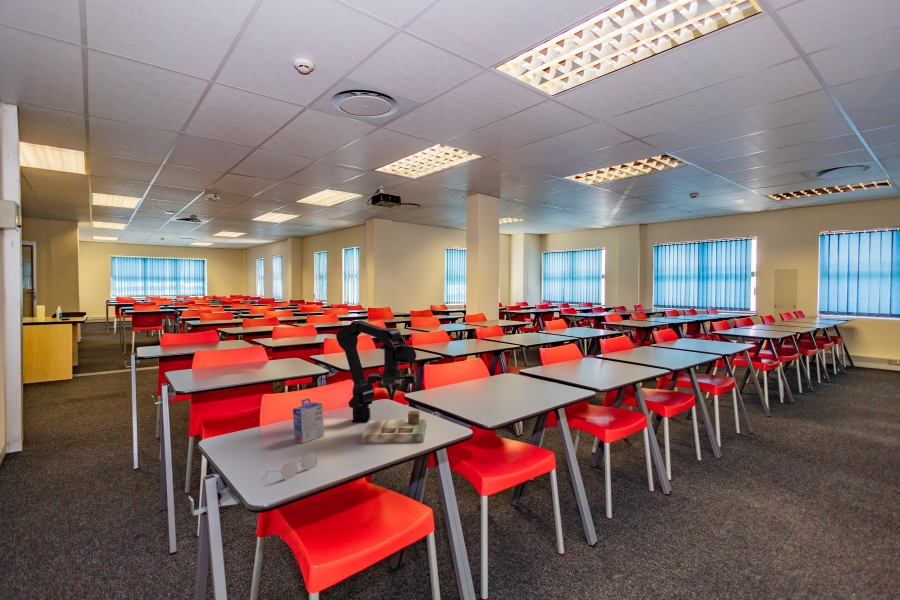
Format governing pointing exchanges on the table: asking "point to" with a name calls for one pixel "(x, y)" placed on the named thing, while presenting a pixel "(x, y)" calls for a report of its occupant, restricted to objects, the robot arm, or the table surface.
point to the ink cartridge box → (308, 421)
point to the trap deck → (393, 431)
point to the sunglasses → (291, 467)
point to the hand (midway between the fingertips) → (391, 400)
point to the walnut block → (413, 418)
